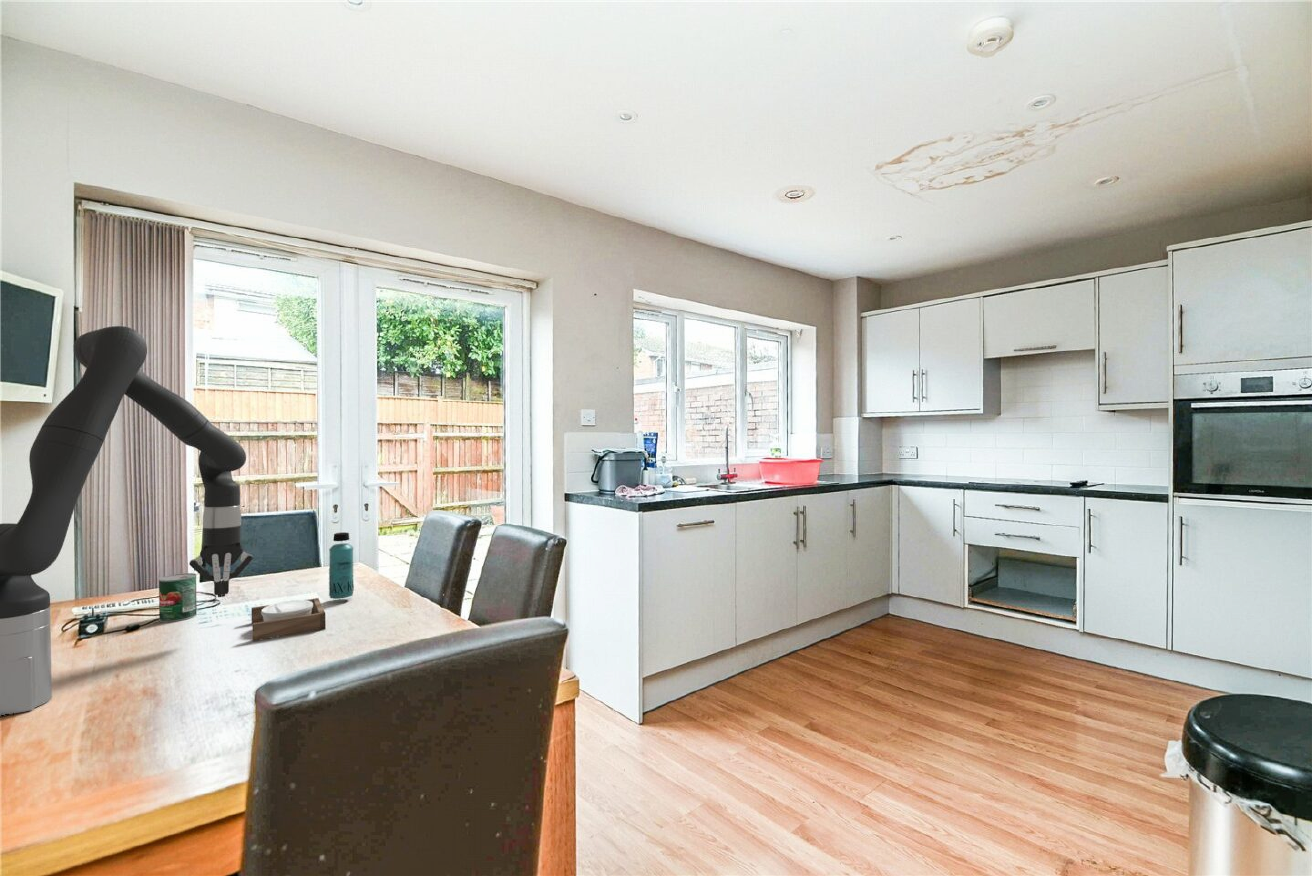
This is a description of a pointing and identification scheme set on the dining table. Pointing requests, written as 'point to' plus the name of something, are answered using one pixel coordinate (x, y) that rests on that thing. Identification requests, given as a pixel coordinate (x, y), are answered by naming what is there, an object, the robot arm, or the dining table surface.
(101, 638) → the dining table surface
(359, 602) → the dining table surface
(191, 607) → the canned tomato
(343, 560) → the beverage bottle
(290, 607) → the ramekin
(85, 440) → the robot arm
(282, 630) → the walnut bay
